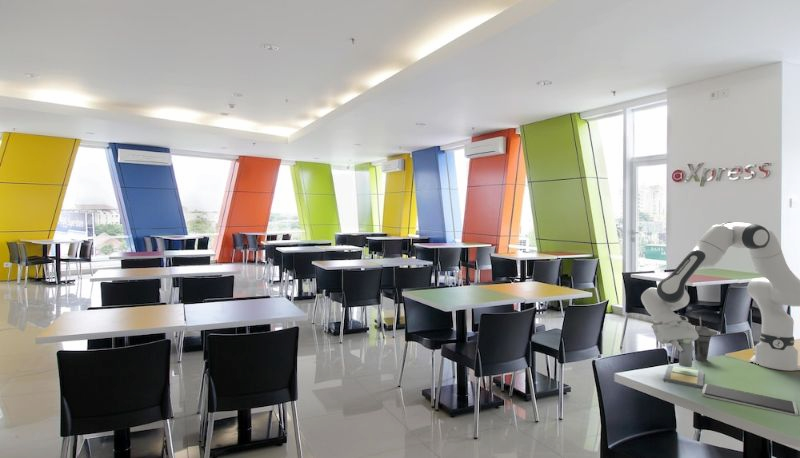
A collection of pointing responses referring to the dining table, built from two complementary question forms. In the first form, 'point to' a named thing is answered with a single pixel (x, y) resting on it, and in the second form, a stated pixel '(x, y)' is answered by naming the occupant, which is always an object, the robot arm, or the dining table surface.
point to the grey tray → (750, 399)
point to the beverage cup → (702, 342)
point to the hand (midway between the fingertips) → (687, 350)
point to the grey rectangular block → (686, 354)
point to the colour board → (684, 376)
